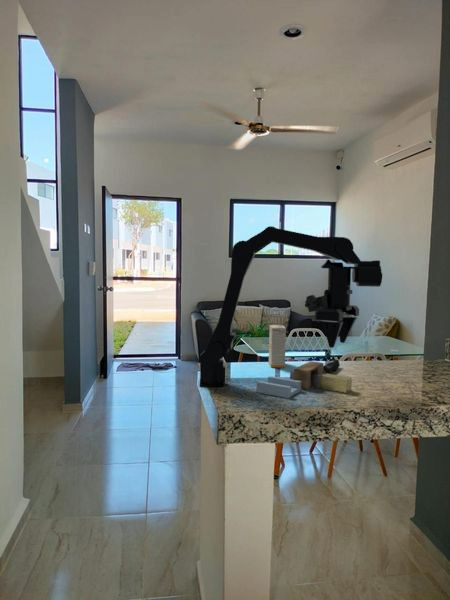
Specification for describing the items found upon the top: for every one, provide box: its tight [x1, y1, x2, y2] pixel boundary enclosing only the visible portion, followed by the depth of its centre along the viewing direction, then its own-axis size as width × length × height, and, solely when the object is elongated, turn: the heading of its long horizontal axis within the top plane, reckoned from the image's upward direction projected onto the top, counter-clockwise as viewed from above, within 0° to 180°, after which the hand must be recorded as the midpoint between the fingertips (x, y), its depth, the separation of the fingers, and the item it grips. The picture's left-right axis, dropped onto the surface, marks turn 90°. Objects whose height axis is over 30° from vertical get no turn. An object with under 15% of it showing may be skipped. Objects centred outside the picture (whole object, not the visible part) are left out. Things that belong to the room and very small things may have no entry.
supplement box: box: [268, 324, 287, 369], centre depth 140 cm, size 8×5×13 cm, turn 179°
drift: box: [289, 369, 325, 390], centre depth 117 cm, size 9×4×4 cm, turn 51°
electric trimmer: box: [323, 359, 340, 374], centre depth 133 cm, size 4×16×3 cm, turn 149°
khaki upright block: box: [320, 373, 353, 394], centre depth 112 cm, size 7×4×4 cm, turn 52°
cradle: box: [255, 375, 302, 399], centre depth 109 cm, size 9×8×3 cm
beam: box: [293, 360, 325, 391], centre depth 117 cm, size 4×12×5 cm, turn 147°
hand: (337, 344), depth 111 cm, fingers open, 9 cm apart
